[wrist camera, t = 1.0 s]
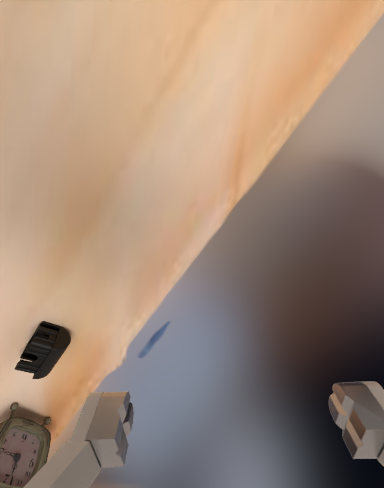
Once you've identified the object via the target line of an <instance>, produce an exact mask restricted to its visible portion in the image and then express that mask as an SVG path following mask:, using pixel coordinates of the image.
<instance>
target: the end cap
mask: <svg viewBox="0 0 384 488" xmlns="http://www.w3.org/2000/svg"><path fill="white" fill-rule="evenodd" d="M70 341H71V337H70V334H69V333H68V331H66V330H65V329H64V328H63V327H61V326H58V325H55V324H52V323H48V322H45V321H42V322H41V323H40V325H39V326H38V328H37V329H36V331H35V333H34V334H33V336H32V337H31V339H30V341H29V342H28V344H27V345H26V348H25V350H24V351H23V353H22V355H21V357H20V358H22V359H26V360H30V361H32V362H29V361H25V360H20V361H19V362H18V363H17V365H16V367H15V370H20V371H24V372H29V373H34V376H33V378H32V379H40V378H43V377H45V376H47V375H48V374H49V373H50V371H51V370H52V369H53V367H54V366H55V364H56V363H57V361H58V360H59V359H60V357H61V356H62V354H63V353H64V351H65V350H66V348H67V347H68V346H69V344H70Z"/></svg>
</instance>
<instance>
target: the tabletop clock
mask: <svg viewBox="0 0 384 488" xmlns="http://www.w3.org/2000/svg"><path fill="white" fill-rule="evenodd" d="M17 408H18V404H17V403H14V404H12V405H11V407H10V409H11V410H12V413H11V415H10V418H9V419H7V420H6V421H4V422H2V423H1V424H0V488H23V487H24V486H25V485H26V484H27V483H28V482H29V481H30V480H31V479H32V478H33V476H34V475H35V474H36V473H37V472H38V471H39V470H40V469H41V468H42V467H43V466H44V465H45V464H46V462H47V457H48V453H49V448H50V440H51V438H50V432H49V431H48V430H47V429H46V428H45V427H44V425H47V424H49V423H50V420H51V419H50V418H49V417H48V418H46V419H45V420H44V424H42V425H39V424H37V423H36V422H34V421H31V420H28V419H24V418H21V417H14V411H15V410H16V409H17Z"/></svg>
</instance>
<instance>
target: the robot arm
mask: <svg viewBox="0 0 384 488" xmlns="http://www.w3.org/2000/svg"><path fill="white" fill-rule="evenodd" d="M332 389H333V391H334V393H333V394H332V395H331V396H330V398H329V407H330V412H331V414H332V417H333V419H334V421H335V423H336V424H337V425H338V426H339V427H340V428H341V429H343V436H342V437H343V439H344V441H345V443H346V445H347V447H348V449H349V451H350V453H351V455H352V457H353V459H378V461H379V462H380V463H381V464H382V465H383V466H384V390H383V388H382V387H381V386H380V385H379V384H378V383H377V382H373V381H372V382H348V383H336V384H334V385H333V388H332ZM129 401H130V394H129V392H106V393H104V392H100V393H90V394H89V396H88V397H87V399H86V402H85V404H84V407H83V409H82V412H81V414H80V417H79V420H78V422H77V425H76V427H75V430H74V432H73V435H72V437H71V440H70V441H68V442H65V443H64V444H63V445H62V446H61V447H60V449H59V450H58V451H57V452H56V453H55V454H54V455H53V456H52V457H51V458H50V459H49V461H47V463H46V464H45V465H44V466H43V467H42V468H41V469H40V470H39V471H38V472H37V473H36V474H35V475H34V476H33V478H32V479H31V480H30V481H29V482H28V483H27V484H26V485H25V486H24V487H23V488H89V487H90V485H91V484H92V483H93V481H94V480H95V478H96V477H97V475H98V474H99V472H100V471H101V468H106V467H122V466H124V464H125V459H126V454H127V450H128V441H127V438H126V437H127V436H128V434H129V433H130V432H131V429H132V424H133V414H134V412H133V405H132V403H131V402H129Z"/></svg>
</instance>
